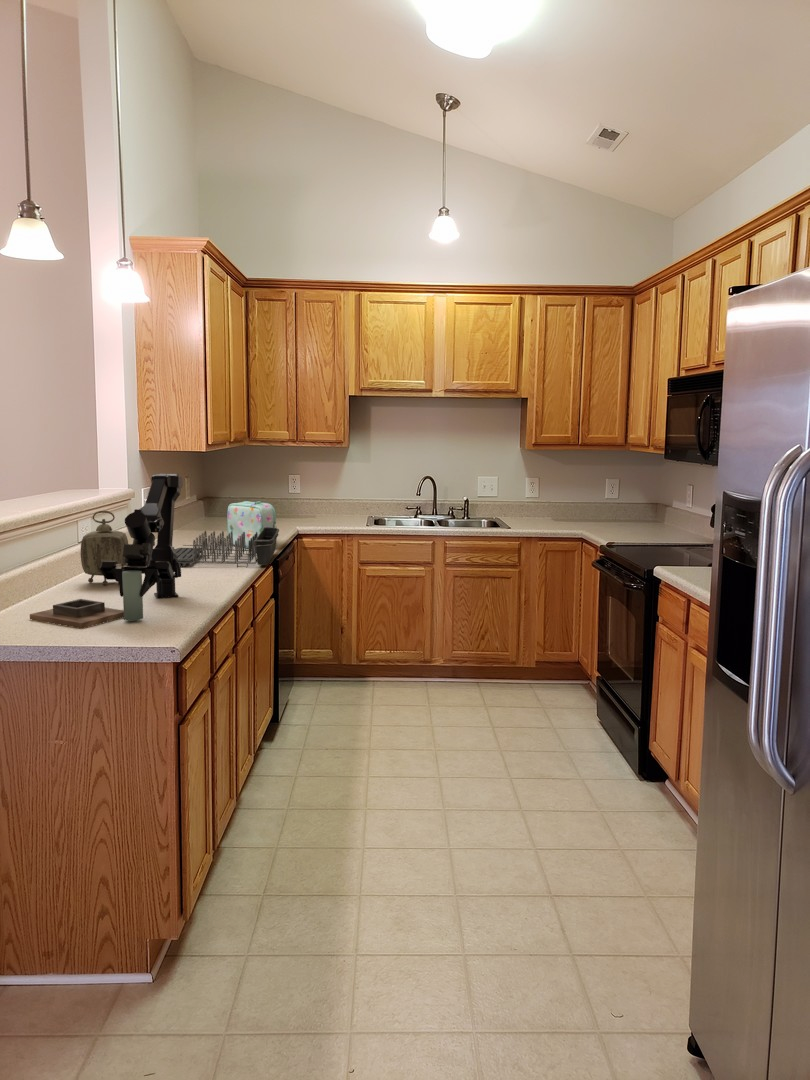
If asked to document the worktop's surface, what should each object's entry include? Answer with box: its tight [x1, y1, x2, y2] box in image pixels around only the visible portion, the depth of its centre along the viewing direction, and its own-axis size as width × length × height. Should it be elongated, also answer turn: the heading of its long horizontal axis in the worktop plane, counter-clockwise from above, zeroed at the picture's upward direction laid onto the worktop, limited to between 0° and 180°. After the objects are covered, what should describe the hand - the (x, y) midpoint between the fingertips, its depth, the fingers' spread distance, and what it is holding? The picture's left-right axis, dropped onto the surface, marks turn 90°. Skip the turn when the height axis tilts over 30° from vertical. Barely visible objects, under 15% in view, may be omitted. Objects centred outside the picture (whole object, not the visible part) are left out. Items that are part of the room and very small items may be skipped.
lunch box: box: [226, 500, 278, 549], centre depth 347 cm, size 27×10×21 cm, turn 51°
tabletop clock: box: [80, 510, 129, 586], centre depth 259 cm, size 14×9×25 cm, turn 103°
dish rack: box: [172, 527, 280, 568], centre depth 310 cm, size 34×44×12 cm
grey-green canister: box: [122, 570, 144, 622], centre depth 210 cm, size 5×5×13 cm
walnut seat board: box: [29, 598, 124, 629], centre depth 214 cm, size 16×20×4 cm
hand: (131, 595), depth 209 cm, fingers closed on grey-green canister, 5 cm apart
